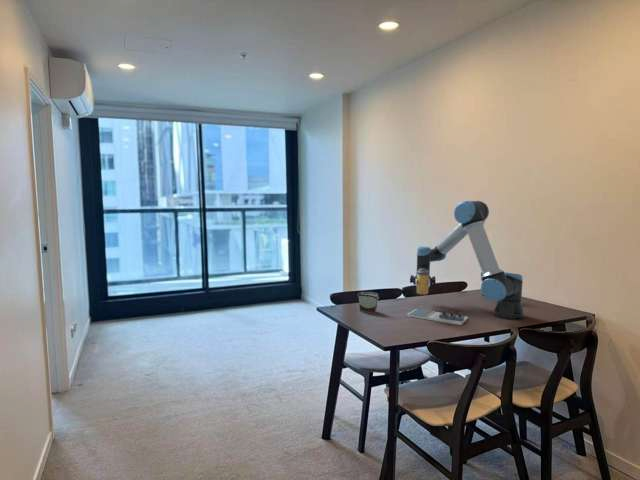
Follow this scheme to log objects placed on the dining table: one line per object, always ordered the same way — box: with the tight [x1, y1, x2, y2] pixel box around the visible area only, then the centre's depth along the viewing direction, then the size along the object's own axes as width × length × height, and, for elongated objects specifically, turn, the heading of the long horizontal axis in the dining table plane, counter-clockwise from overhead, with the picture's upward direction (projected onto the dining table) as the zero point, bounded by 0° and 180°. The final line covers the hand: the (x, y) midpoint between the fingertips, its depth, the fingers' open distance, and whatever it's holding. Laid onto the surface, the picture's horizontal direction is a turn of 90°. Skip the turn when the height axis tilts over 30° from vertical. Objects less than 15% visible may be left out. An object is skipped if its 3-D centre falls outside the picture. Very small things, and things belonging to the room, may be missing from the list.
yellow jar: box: [416, 270, 429, 295], centre depth 232 cm, size 6×6×12 cm
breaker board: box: [406, 308, 469, 326], centre depth 229 cm, size 28×13×5 cm, turn 57°
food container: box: [357, 291, 380, 314], centre depth 241 cm, size 12×6×10 cm, turn 57°
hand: (422, 283), depth 227 cm, fingers closed on yellow jar, 6 cm apart
